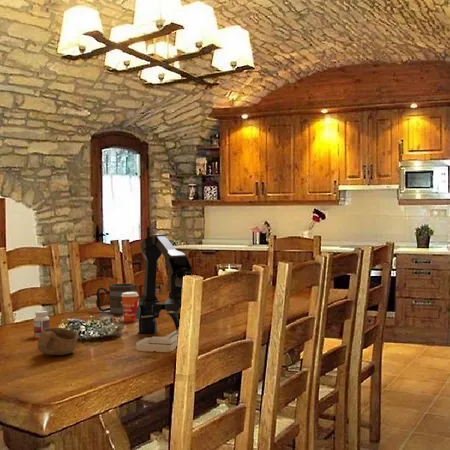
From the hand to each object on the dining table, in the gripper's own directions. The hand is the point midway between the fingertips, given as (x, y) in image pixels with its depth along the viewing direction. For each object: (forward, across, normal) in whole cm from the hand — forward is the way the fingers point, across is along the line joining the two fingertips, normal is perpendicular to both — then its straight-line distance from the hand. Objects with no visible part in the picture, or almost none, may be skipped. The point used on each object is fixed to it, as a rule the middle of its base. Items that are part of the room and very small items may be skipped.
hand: (178, 330), depth 240 cm
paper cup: (+7, -38, +47) cm, 61 cm away
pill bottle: (+7, -62, +10) cm, 63 cm away
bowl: (+7, -40, -18) cm, 44 cm away
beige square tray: (+7, -8, 0) cm, 10 cm away
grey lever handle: (+4, -2, 0) cm, 4 cm away
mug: (+7, -54, +66) cm, 85 cm away
